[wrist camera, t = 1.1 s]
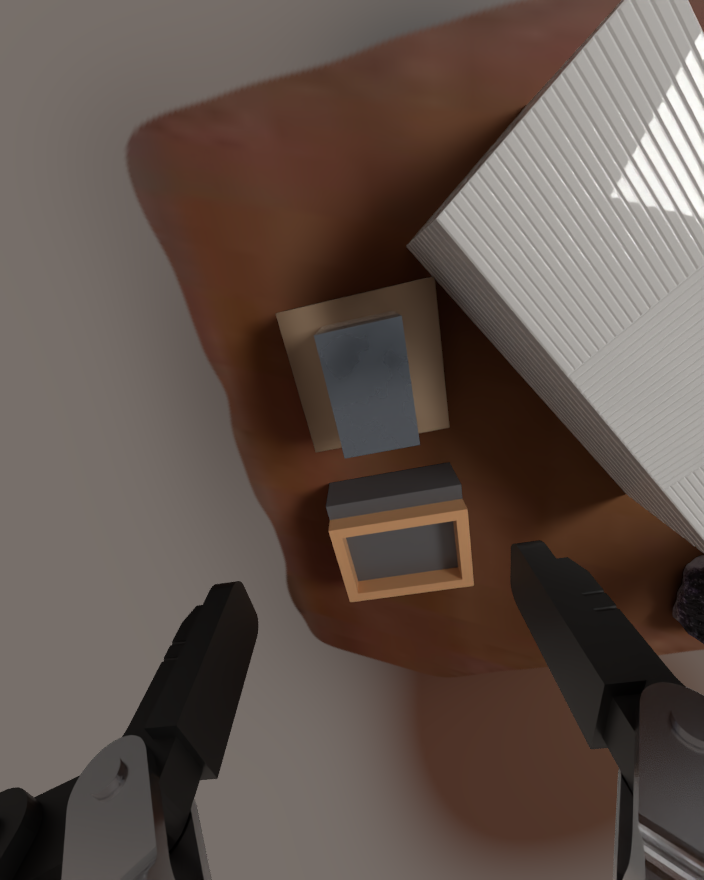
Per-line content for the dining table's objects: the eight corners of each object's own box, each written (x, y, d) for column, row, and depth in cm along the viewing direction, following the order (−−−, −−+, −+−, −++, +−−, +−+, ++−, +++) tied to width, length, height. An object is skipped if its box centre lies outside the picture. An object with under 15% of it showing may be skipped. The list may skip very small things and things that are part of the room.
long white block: (405, 246, 25) (435, 218, 15) (525, 106, 21) (666, -49, 12) (624, 492, 33) (734, 577, 24) (734, 420, 30) (917, 484, 20)
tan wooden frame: (449, 462, 32) (466, 494, 27) (459, 554, 37) (475, 596, 32) (329, 483, 33) (324, 517, 28) (354, 570, 38) (353, 612, 33)
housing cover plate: (397, 313, 20) (401, 315, 18) (415, 432, 23) (420, 444, 21) (317, 331, 20) (313, 335, 19) (345, 445, 24) (344, 458, 22)
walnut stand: (423, 278, 25) (434, 276, 22) (438, 410, 30) (449, 427, 26) (287, 310, 26) (275, 313, 23) (320, 433, 31) (315, 452, 27)
